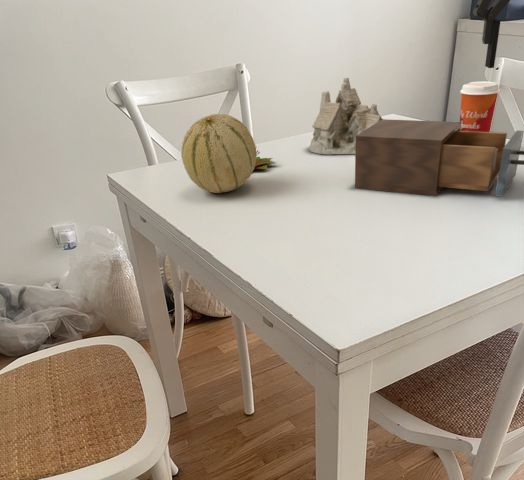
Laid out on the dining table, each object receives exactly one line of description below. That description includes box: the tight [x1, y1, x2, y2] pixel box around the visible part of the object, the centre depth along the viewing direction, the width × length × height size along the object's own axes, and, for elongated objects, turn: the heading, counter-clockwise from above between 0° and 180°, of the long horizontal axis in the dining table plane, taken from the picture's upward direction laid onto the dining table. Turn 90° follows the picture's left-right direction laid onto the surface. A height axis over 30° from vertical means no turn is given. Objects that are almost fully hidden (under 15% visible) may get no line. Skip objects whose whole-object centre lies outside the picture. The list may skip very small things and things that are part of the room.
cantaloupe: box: [180, 113, 257, 194], centre depth 106 cm, size 15×15×15 cm
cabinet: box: [354, 118, 461, 197], centre depth 104 cm, size 16×14×10 cm
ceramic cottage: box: [309, 77, 383, 155], centre depth 126 cm, size 16×16×15 cm
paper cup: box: [459, 80, 501, 132], centre depth 114 cm, size 8×8×14 cm
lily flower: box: [254, 144, 277, 170], centre depth 122 cm, size 12×12×5 cm
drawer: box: [438, 130, 524, 197], centre depth 97 cm, size 19×13×8 cm, turn 60°
